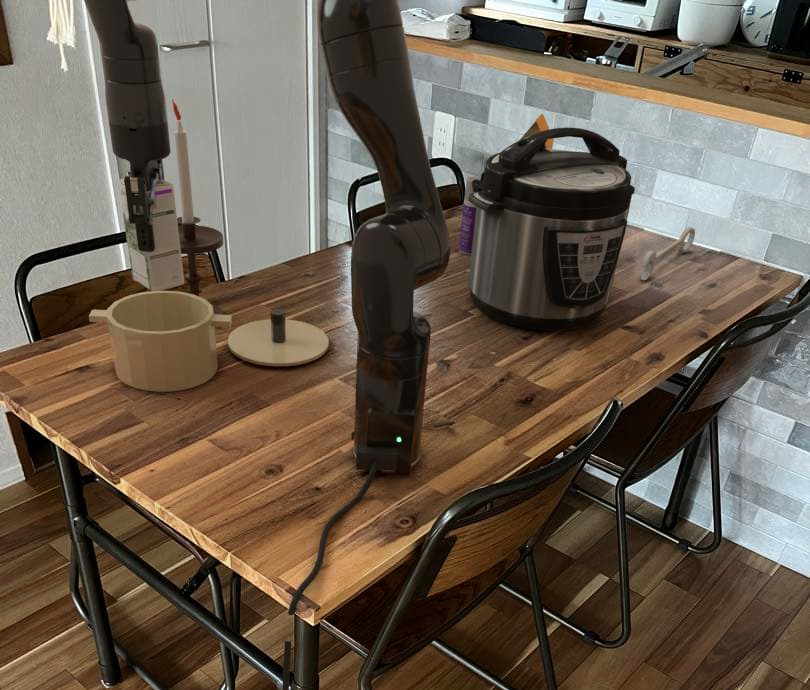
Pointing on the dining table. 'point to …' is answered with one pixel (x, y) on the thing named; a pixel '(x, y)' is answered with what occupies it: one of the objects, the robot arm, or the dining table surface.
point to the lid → (278, 341)
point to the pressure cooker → (549, 231)
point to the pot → (163, 339)
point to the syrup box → (156, 242)
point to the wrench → (667, 252)
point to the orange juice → (538, 127)
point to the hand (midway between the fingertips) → (152, 240)
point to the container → (468, 220)
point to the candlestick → (191, 217)
